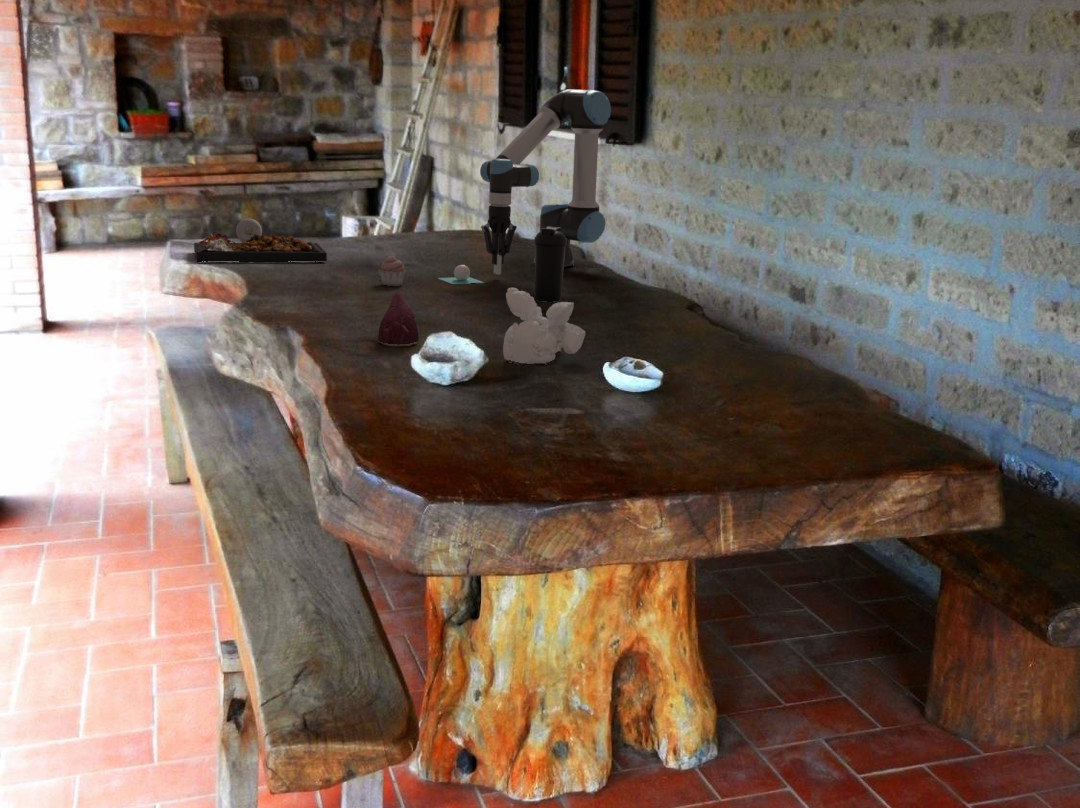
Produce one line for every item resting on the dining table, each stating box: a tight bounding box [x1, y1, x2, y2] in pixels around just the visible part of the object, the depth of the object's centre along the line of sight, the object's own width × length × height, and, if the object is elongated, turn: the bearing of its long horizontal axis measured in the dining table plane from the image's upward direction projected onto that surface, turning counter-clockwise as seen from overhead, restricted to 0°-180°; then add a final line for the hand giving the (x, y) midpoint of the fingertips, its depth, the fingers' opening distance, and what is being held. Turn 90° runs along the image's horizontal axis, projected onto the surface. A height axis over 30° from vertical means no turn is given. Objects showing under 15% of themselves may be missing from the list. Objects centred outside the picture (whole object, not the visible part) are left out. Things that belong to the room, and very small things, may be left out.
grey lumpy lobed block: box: [502, 286, 586, 364], centre depth 283 cm, size 19×20×20 cm
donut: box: [235, 218, 263, 243], centre depth 449 cm, size 10×4×10 cm, turn 104°
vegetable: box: [377, 289, 420, 345], centre depth 293 cm, size 10×10×15 cm
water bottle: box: [533, 227, 567, 302], centre depth 360 cm, size 10×10×23 cm
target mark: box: [436, 276, 485, 286], centre depth 390 cm, size 12×12×1 cm
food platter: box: [193, 228, 328, 263], centre depth 417 cm, size 45×25×10 cm, turn 108°
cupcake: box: [378, 254, 407, 287], centre depth 375 cm, size 9×9×10 cm
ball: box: [453, 264, 471, 281], centre depth 390 cm, size 6×6×6 cm
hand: (497, 273), depth 397 cm, fingers closed
